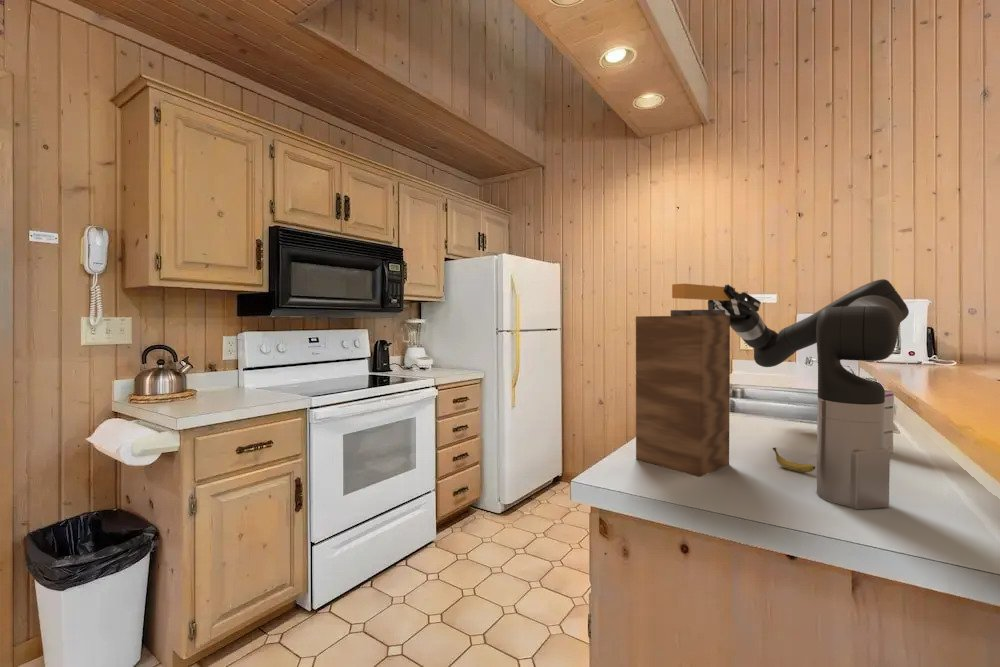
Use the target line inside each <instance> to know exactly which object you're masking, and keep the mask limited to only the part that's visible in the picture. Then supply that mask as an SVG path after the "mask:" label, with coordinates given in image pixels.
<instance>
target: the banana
mask: <svg viewBox="0 0 1000 667" xmlns="http://www.w3.org/2000/svg"><path fill="white" fill-rule="evenodd" d="M772 451H774V453H775V455H776V458H775V460H776V462H777V463H778V465H779V466H780V467H782V468H785V469H786V470H790V471H794V472H798V473H811V472H813V471H814V470H815V469H816V466H815V465H814V464H808V463H807V464H805V463H804V464H803V463H799V462H798V463H797V462H795V461H790V460H788V459H785V458H784V457H782V456H781V455H780V454H779V452H778V450H777V447H772Z"/></svg>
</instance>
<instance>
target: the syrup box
mask: <svg viewBox="0 0 1000 667" xmlns="http://www.w3.org/2000/svg"><path fill="white" fill-rule="evenodd" d="M884 390H885V402H884V403H885V412H884V449H887V450H889V451H890V454H893V453H894V413H895V412H894V408H895V395H894V393H895V392H894V390H887V389H884Z"/></svg>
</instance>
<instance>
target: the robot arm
mask: <svg viewBox="0 0 1000 667" xmlns="http://www.w3.org/2000/svg"><path fill="white" fill-rule="evenodd" d="M710 286H715V285H714V284H713V285H710ZM724 287H725V288H724V292H725V294H726V295H727V296H728V297H729V299H731V300H726V301H720V300H707V310H725V315H730V329H732V330H733V331H734V333H735V334H736V335H737V336H739V337H740V338H741V339H742V340H743V342H744V343H745V344H747V346H749V347H750V348H753V360H754V362H755V364H757V365H759V366H760V367H762V368H771V367H776V366H778V365H781V364H782V363H783V362H785V361H786V360H788V359H789V358H790V357H791V356H793V355H794V354H795V353H796V352H797V351H800V350H802V349H805V348H808V347H810V346H812V345H816V350H817V351H816V352H817V353H816V354H817V416H816V417H817V421H816V422H817V423H816V424H817V425H816V428H817V429H816V430H817V431H816V494H817V495H818V497H820V498H822V499H824V500H825V501H828V502H831V503H834V504H837V505H838V504H839V505H843V506H847V507H850V508H852V509H855V510H869V509H878V508H879V509H881V508H883V509H884V508H889V507H890V472H891V470H890V469H891V463H890V462H891V459H890V457H891V453H890V451H889V450H887V449H884V412H885V403H884V402H885V390H886V389H885V388H884V386H883V385H882V384H880V383H878V382H876V381H872V380H870V379H866V378H864V377H861V376H859V375H856V374H855V373H853V372H851V371H850V370H847V369H846V368H845V367H844V366H843V365H842V363H841V361H845V360H846V361H861V362H862V361H865V362H878V361H883V360H886V359H888V358H889V357H891V355H892V354H893V352H894V351H895V348H896V345H897V340H898V329H899V327H900V324H901V323H902V322H903V321H904V320H905V319H906V318H907V317H908V316H909V312H910V310H909V308H908V306H907V304H906V302H905V301H904V299H903V298H902V297H901V295H900V294H899V293H898V291H897V290H896V288H895V287H894V286H893V285H892V283H891V282H890V281H889V280H887V279H877V280H872V281H871V282H868V283H865V284H863V285H861V286H860V287H858V288H856V289H853V290H852V291H850V292H848V293H846V294H845V295H842V296H841V297H839V298H838V299H836V300H834V301H832V302H831V303H829V304H827V305H826V306H824V307H822V308H821V309H819V310H818V311H816V312H814V313H812V314H811V315H809V316H807V317H805V318H803V319H802V320H799V321H798V322H795V323H793V324H790V325H788V326H785V327H784V328H782V329H780V331H779V332H778V333H777V332H776V331H774V330H772V329H771V328H769V327H768V326H767V325H766V324H765V322H764V320H763V318H762V317H761V315H760V314H759V313H758V312H759V311H760V306H761V301H760V300H758V299H756V298H755V297H753V296H752V295H750V294H749V293H747V292H745V291H744V292H743V291H742V292H738V291H737V290H736V289H735V290H734V289H733V288H734V287H733V286H731V285H730V284H725V285H724Z"/></svg>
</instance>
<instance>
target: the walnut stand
mask: <svg viewBox="0 0 1000 667" xmlns="http://www.w3.org/2000/svg"><path fill="white" fill-rule="evenodd" d="M730 352H731V326H730V315H725V310H708V309H691V310H689V309H683V310H682V309H680V310H679V309H671V310H670V315H655V316H654V315H651V316H649V315H648V316H646V315H645V316H643V315H642V316H635V459H636V460H637V459H639V460H638V461H641V460H642V461H641V462H644V461H645V463H648V462H649V464H652V465H655V464H656V466H660V467H662V466H663V468H665V469H666V468H667V469H670V470H674V471H678V472H681V473H684V472H685V474H689V475H692V476H696V477H699V478H700V477H702V475H703V476H705V475H707V473H708V474H710V473H713V472H714V471H717V470H720V469H722V468H724V467H727V466H730V406H731V405H730V402H731V401H730V394H731V393H730V386H731V385H730V384H731V382H730V379H731V378H730V376H731V373H730V371H731V370H730V368H731V367H730V366H731V364H730V363H731V356H730V354H731V353H730ZM712 471H713V472H712Z"/></svg>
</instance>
